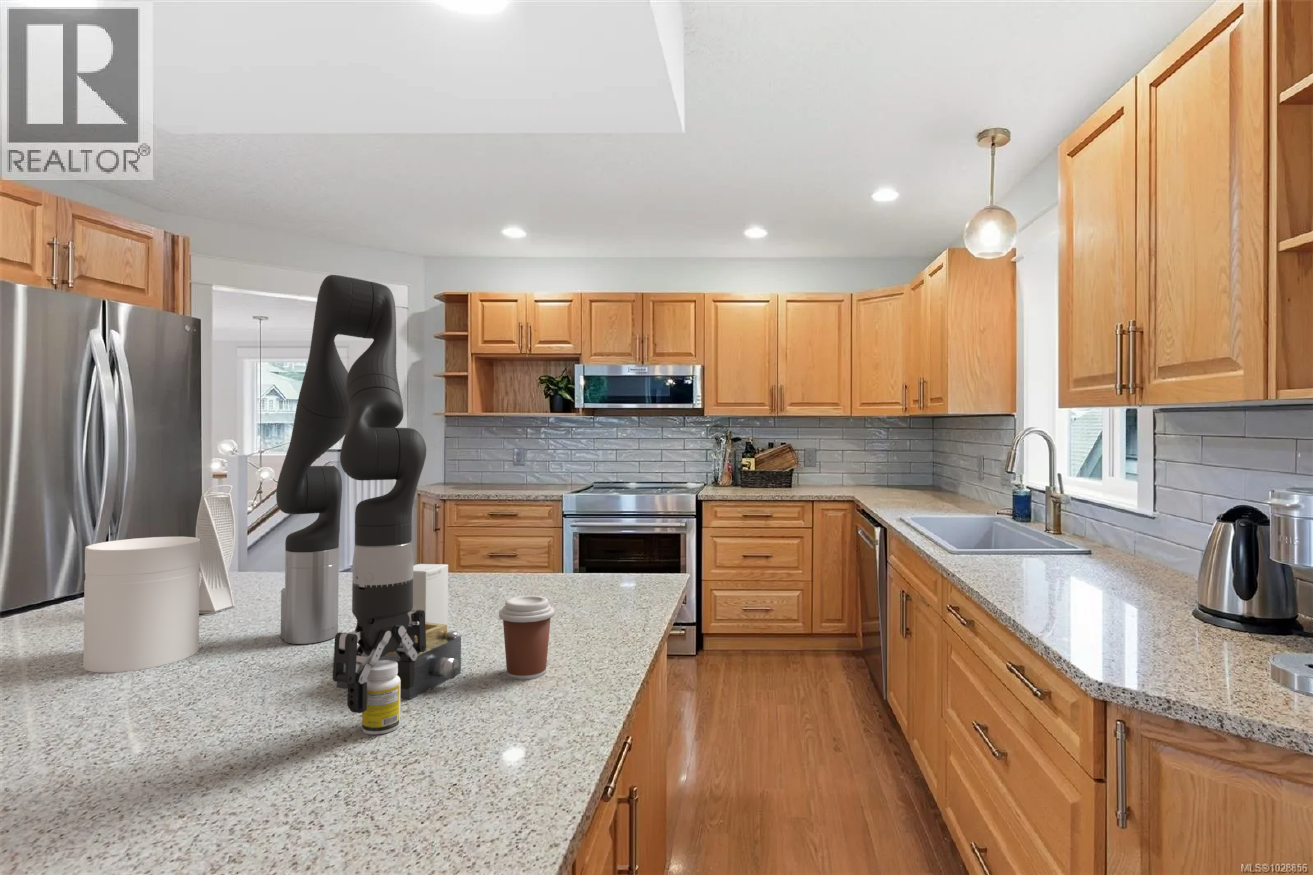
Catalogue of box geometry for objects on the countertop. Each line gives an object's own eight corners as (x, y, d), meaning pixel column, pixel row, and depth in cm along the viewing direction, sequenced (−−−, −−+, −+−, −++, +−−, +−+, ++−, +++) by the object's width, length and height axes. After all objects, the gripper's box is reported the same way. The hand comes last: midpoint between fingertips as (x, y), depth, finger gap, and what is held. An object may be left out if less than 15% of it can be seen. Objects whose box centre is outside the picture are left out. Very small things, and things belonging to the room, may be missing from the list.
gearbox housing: (336, 687, 101) (337, 635, 101) (392, 662, 112) (393, 616, 113) (426, 702, 95) (427, 647, 95) (476, 675, 107) (476, 626, 107)
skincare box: (424, 662, 113) (425, 572, 113) (390, 659, 114) (391, 570, 114) (449, 647, 121) (450, 563, 121) (417, 645, 123) (418, 561, 123)
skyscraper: (212, 604, 152) (213, 484, 152) (243, 605, 151) (245, 484, 151) (181, 613, 143) (182, 486, 144) (214, 615, 142) (215, 486, 143)
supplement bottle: (369, 720, 89) (369, 658, 89) (404, 719, 90) (405, 658, 90) (356, 736, 84) (356, 671, 84) (393, 735, 85) (394, 670, 85)
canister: (218, 650, 119) (220, 540, 119) (115, 678, 104) (117, 553, 104) (166, 638, 126) (167, 534, 126) (62, 664, 111) (64, 546, 111)
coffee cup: (506, 686, 102) (506, 609, 102) (492, 668, 110) (492, 597, 110) (561, 677, 106) (562, 603, 106) (544, 660, 114) (544, 591, 114)
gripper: (398, 566, 95) (397, 678, 95) (317, 585, 82) (316, 716, 81) (441, 569, 92) (440, 684, 92) (364, 590, 79) (363, 724, 79)
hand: (382, 699), depth 87 cm, fingers open, 8 cm apart
